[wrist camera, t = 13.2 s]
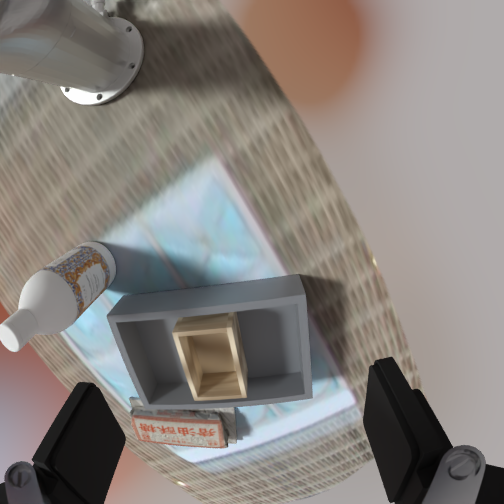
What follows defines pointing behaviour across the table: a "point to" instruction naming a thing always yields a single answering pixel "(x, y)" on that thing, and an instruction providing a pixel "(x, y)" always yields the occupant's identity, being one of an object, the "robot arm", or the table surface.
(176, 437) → the packaged product
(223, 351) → the pine crate
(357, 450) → the table surface
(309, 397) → the charcoal crate
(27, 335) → the bath foam
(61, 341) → the table surface
